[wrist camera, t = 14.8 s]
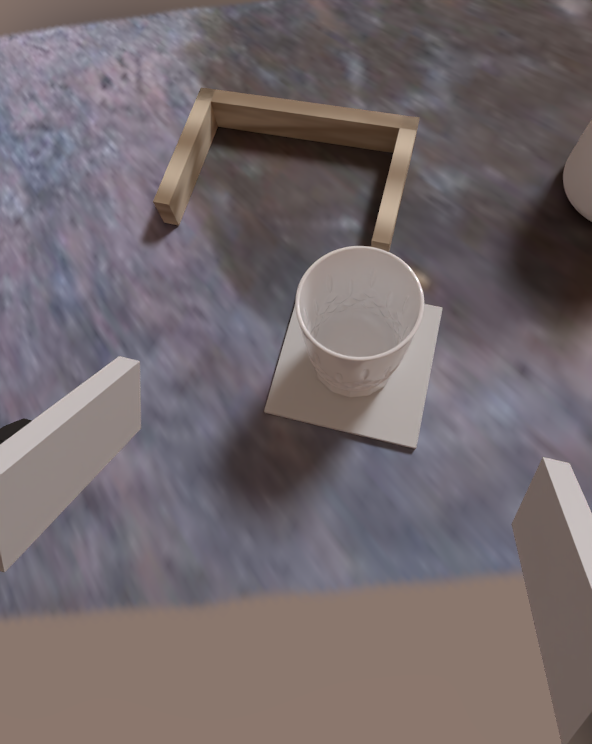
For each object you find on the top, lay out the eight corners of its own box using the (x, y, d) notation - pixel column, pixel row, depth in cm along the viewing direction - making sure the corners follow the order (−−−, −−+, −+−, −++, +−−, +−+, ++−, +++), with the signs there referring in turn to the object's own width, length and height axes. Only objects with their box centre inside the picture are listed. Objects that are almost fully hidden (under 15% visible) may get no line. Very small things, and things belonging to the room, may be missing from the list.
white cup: (371, 424, 38) (383, 384, 28) (286, 373, 39) (270, 320, 30) (421, 343, 39) (447, 280, 30) (337, 298, 41) (337, 226, 32)
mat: (264, 412, 39) (263, 411, 39) (302, 283, 43) (302, 280, 42) (415, 449, 37) (416, 447, 37) (441, 310, 41) (442, 307, 40)
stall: (386, 263, 43) (389, 244, 40) (164, 222, 46) (152, 201, 43) (414, 143, 47) (419, 117, 44) (208, 113, 50) (201, 87, 47)
